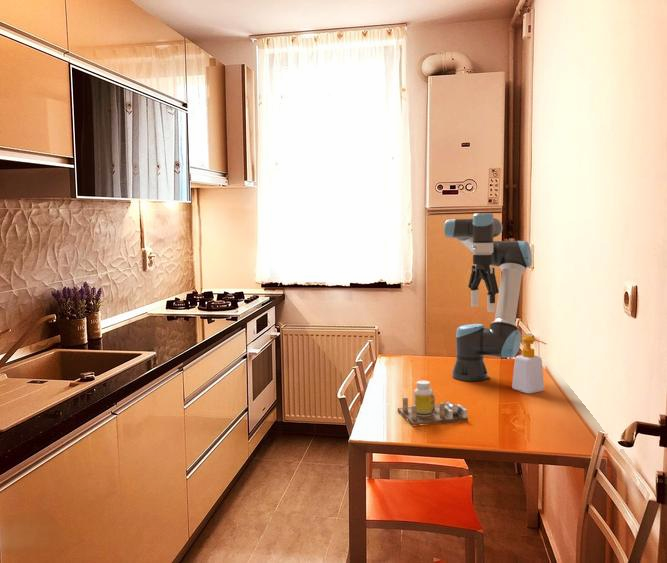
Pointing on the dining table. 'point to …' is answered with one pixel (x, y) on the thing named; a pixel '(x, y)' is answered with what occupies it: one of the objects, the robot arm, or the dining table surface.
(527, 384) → the soap bottle
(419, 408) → the pill bottle
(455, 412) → the pin
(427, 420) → the board
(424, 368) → the dining table surface
